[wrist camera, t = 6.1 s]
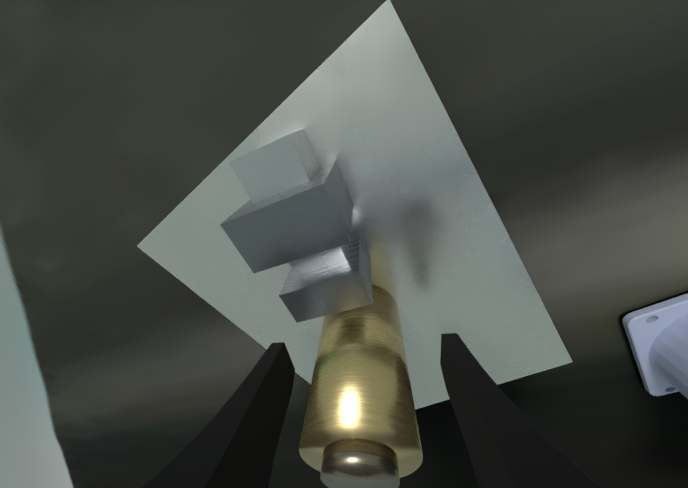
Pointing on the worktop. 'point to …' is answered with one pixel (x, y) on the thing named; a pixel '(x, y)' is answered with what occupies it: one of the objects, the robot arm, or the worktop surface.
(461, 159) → the shaft rig
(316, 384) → the cylinder
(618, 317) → the worktop surface
